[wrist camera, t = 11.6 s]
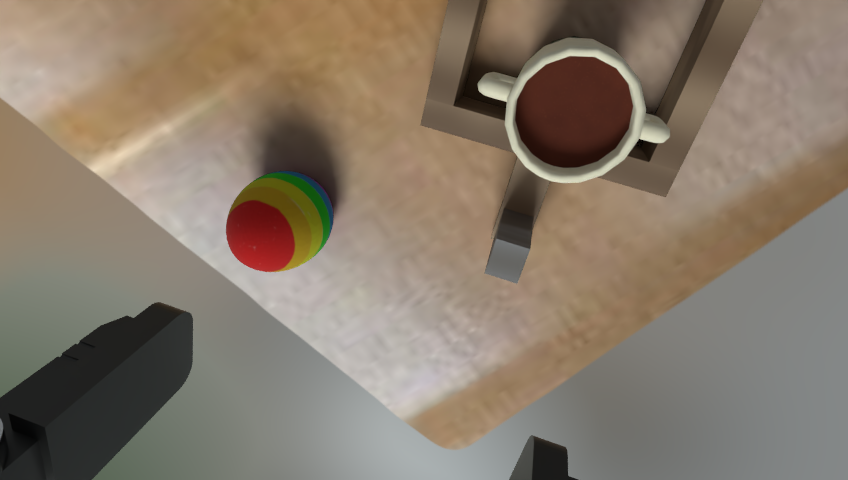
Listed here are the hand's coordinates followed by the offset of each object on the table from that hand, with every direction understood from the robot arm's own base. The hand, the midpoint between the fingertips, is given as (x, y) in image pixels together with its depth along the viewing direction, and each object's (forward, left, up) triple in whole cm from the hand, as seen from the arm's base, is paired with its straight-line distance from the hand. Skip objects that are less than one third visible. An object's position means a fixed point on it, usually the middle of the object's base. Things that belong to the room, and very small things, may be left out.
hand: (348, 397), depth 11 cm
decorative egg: (+13, -15, -32) cm, 38 cm away
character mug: (-4, +4, -32) cm, 33 cm away
